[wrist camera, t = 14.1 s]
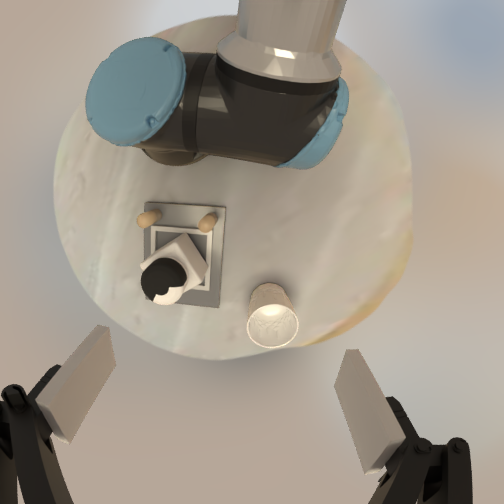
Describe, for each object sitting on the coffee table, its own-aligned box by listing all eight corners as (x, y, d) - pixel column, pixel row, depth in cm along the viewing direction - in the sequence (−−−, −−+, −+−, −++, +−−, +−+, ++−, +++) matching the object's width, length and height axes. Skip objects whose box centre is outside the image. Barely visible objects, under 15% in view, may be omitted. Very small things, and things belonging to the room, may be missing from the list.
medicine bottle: (153, 252, 46) (125, 276, 34) (186, 231, 45) (165, 250, 33) (176, 286, 48) (155, 319, 36) (209, 267, 47) (196, 296, 35)
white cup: (255, 323, 52) (256, 353, 42) (241, 287, 50) (239, 313, 40) (294, 310, 51) (303, 339, 42) (283, 273, 49) (290, 297, 40)
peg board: (147, 202, 46) (130, 207, 39) (225, 207, 46) (221, 212, 39) (147, 296, 50) (134, 313, 44) (219, 305, 51) (214, 324, 44)
